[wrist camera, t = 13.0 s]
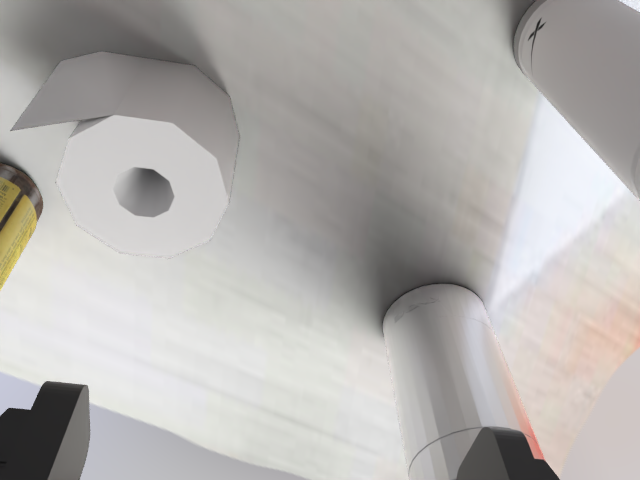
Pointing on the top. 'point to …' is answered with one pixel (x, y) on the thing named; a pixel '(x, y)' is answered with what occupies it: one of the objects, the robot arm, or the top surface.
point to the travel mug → (589, 73)
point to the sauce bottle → (16, 216)
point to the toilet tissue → (141, 150)
